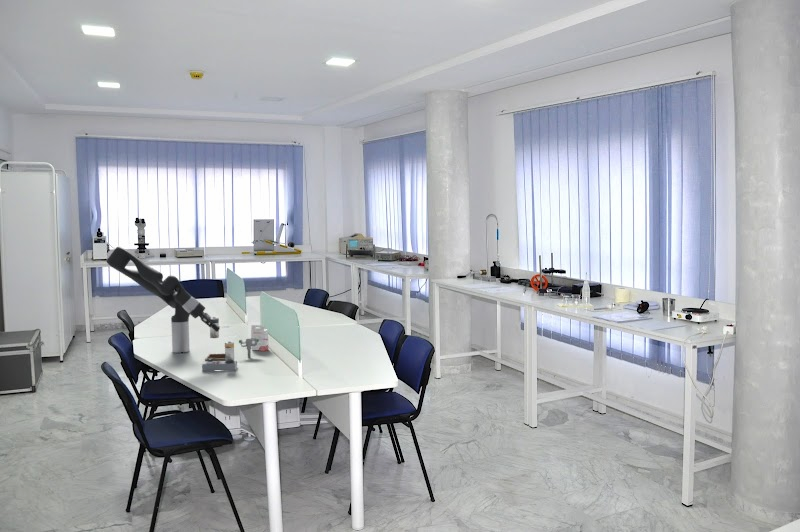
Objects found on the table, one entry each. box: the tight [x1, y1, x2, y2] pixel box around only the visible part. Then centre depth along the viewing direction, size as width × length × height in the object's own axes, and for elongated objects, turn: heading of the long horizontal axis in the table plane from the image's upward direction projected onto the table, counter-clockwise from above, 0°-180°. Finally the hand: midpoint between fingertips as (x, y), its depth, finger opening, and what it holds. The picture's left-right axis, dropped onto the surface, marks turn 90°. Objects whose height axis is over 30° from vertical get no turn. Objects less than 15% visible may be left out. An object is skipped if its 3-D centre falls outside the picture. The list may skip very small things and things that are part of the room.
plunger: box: [206, 358, 214, 364], centre depth 320 cm, size 4×4×5 cm
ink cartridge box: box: [250, 324, 269, 352], centre depth 363 cm, size 9×5×15 cm, turn 76°
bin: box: [204, 353, 225, 361], centre depth 334 cm, size 11×11×4 cm
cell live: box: [224, 341, 235, 363], centre depth 321 cm, size 4×4×11 cm
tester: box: [201, 360, 238, 372], centre depth 321 cm, size 6×16×4 cm, turn 96°
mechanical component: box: [238, 338, 259, 358], centre depth 346 cm, size 3×10×10 cm, turn 111°
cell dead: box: [209, 316, 220, 339], centre depth 331 cm, size 4×4×11 cm
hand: (218, 329), depth 332 cm, fingers closed on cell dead, 4 cm apart
